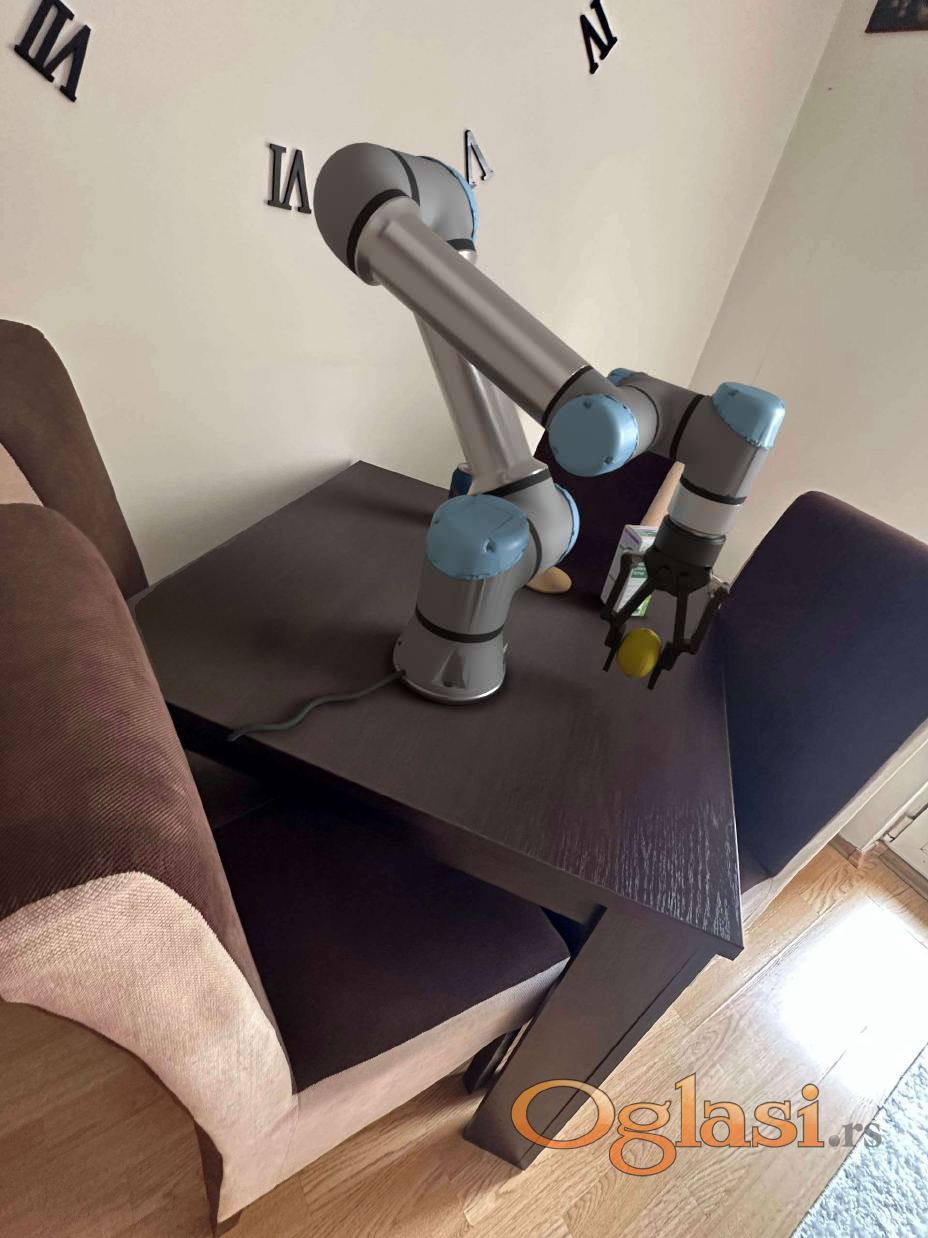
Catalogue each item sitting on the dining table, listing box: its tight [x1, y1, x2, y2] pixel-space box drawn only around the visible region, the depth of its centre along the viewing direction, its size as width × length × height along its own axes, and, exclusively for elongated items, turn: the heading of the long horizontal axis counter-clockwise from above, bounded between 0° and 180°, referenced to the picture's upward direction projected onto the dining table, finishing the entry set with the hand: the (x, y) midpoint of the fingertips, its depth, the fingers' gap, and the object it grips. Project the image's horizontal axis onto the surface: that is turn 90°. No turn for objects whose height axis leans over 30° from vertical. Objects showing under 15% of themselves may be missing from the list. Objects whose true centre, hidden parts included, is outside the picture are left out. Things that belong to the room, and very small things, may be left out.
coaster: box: [524, 566, 572, 595], centre depth 115 cm, size 10×10×1 cm
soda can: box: [447, 461, 473, 501], centre depth 122 cm, size 7×7×12 cm
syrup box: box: [600, 524, 659, 617], centre depth 107 cm, size 6×6×14 cm
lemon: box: [615, 627, 662, 679], centre depth 87 cm, size 6×6×8 cm
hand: (628, 674), depth 89 cm, fingers closed on lemon, 6 cm apart
